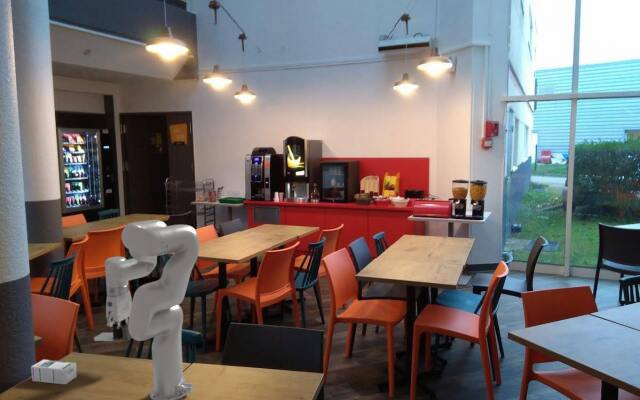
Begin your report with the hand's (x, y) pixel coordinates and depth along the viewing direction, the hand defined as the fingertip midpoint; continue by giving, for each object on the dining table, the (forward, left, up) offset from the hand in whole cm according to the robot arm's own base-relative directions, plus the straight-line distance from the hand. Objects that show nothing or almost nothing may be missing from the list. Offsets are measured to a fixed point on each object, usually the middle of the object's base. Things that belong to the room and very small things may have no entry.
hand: (120, 335), depth 177 cm
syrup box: (+11, +13, -10) cm, 20 cm away
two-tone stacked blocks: (+3, 0, -1) cm, 3 cm away
